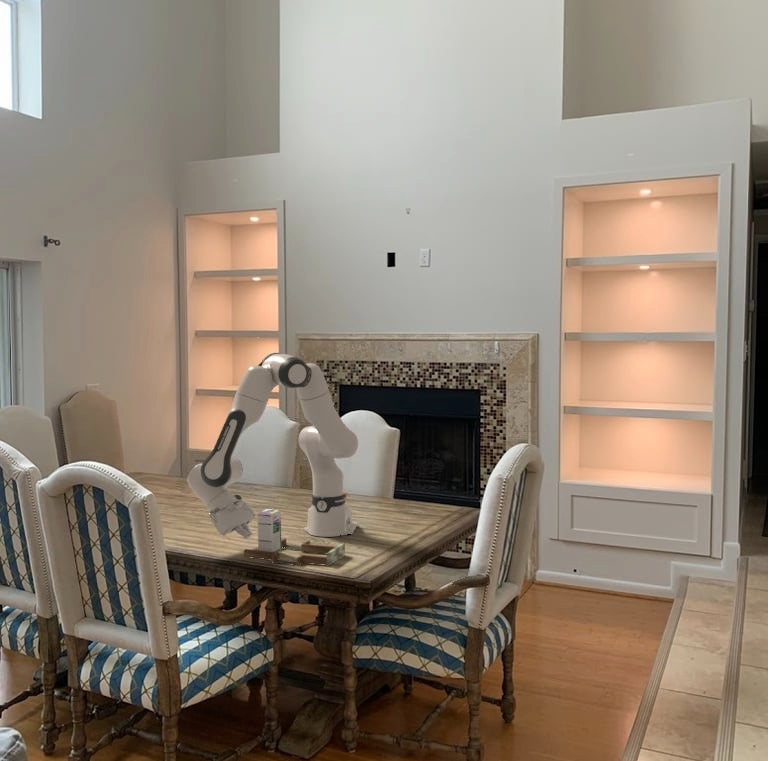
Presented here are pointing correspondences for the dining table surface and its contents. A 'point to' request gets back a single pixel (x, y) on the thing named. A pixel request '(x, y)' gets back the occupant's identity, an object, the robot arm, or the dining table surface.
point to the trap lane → (331, 551)
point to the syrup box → (269, 530)
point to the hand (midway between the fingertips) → (249, 536)
